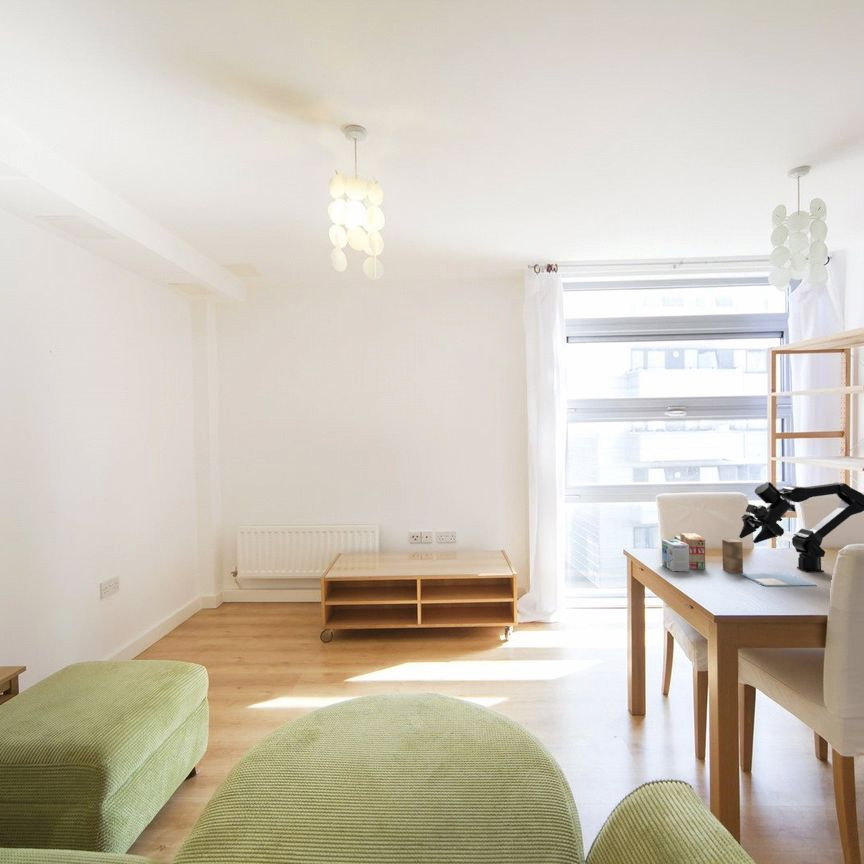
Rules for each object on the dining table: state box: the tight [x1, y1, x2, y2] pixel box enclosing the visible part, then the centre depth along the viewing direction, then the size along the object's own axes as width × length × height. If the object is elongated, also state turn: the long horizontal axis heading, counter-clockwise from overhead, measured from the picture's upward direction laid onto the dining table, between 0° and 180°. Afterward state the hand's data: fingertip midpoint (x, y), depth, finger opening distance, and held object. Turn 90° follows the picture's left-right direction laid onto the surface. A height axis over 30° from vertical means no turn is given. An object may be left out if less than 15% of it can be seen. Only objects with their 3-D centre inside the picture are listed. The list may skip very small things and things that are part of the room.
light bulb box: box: [661, 538, 690, 573], centre depth 205 cm, size 11×7×11 cm, turn 178°
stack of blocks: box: [674, 532, 706, 570], centre depth 214 cm, size 21×6×12 cm, turn 168°
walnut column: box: [721, 538, 744, 574], centre depth 199 cm, size 5×5×12 cm
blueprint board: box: [739, 572, 817, 587], centre depth 187 cm, size 18×15×1 cm
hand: (746, 539), depth 199 cm, fingers open, 9 cm apart
